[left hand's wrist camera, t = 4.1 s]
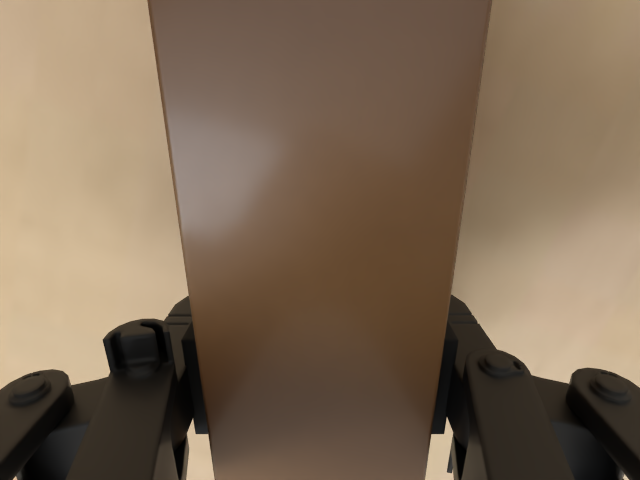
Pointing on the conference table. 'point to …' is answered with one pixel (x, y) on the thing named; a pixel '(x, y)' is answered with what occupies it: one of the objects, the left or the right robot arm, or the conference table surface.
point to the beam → (319, 220)
